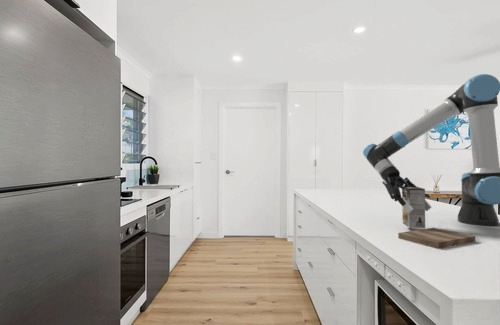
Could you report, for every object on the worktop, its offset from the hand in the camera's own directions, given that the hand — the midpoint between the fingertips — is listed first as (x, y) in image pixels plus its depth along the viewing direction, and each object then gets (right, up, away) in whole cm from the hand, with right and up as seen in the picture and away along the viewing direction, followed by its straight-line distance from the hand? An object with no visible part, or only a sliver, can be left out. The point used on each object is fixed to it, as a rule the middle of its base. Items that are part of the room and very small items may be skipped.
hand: (420, 210), depth 120 cm
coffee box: (-1, -7, +3) cm, 8 cm away
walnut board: (-2, -9, -13) cm, 16 cm away
